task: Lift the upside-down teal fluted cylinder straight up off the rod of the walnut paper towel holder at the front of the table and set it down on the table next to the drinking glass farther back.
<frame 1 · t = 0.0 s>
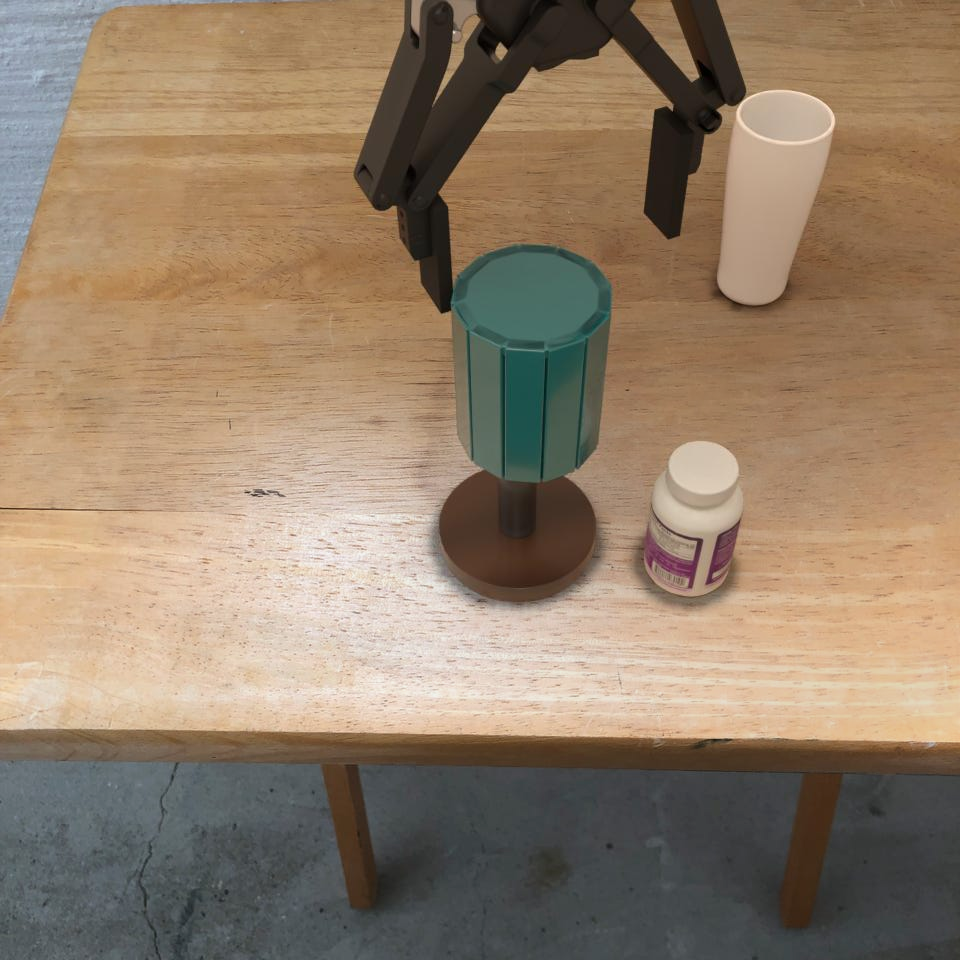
hand: (552, 260, 60), 19 cm above the table, tool pointing down, fingers open, 13 cm apart
pill bottle: (684, 566, 70), on the table
drinking glass: (749, 288, 86), on the table
towel holder: (517, 537, 71), on the table
teal fluted cylinder: (528, 428, 63), point 11 cm above the table, touching gripper, towel holder
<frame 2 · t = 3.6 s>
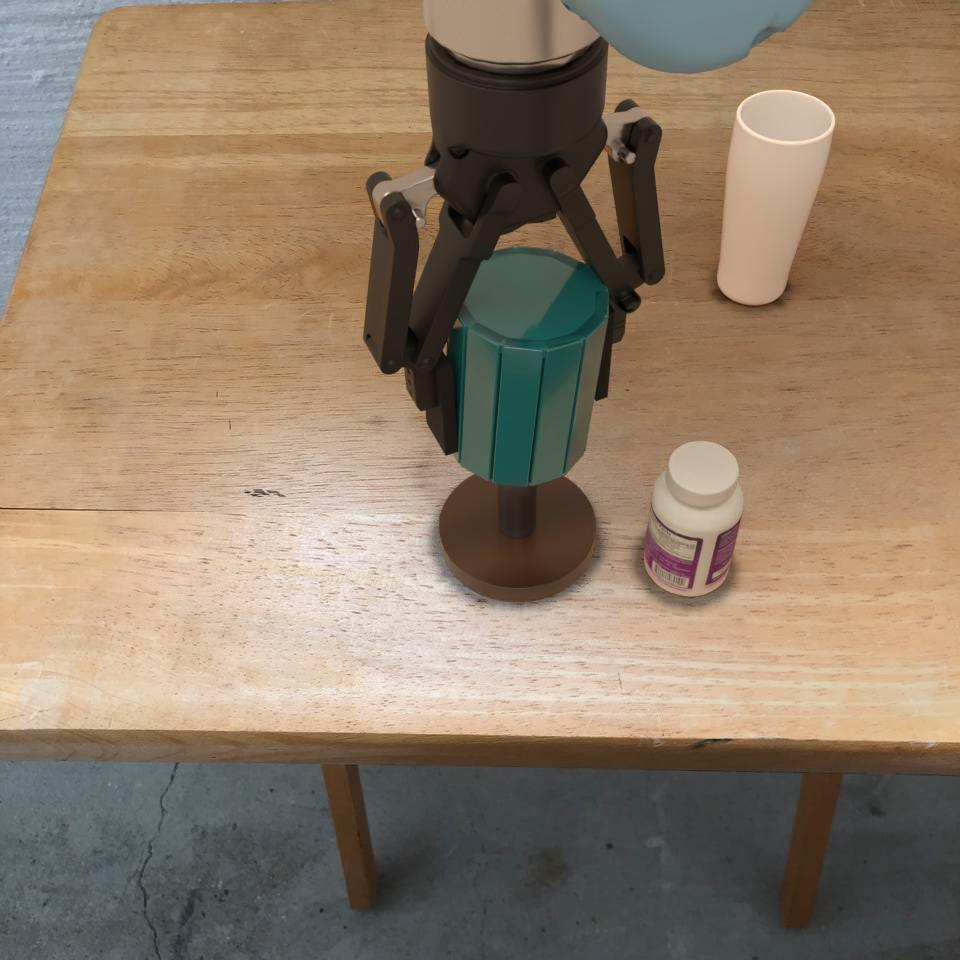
hand: (517, 409, 62), 12 cm above the table, tool pointing down, fingers closed on teal fluted cylinder, 9 cm apart
teal fluted cylinder: (515, 432, 63), point 11 cm above the table, touching gripper, towel holder
everything else where it was.
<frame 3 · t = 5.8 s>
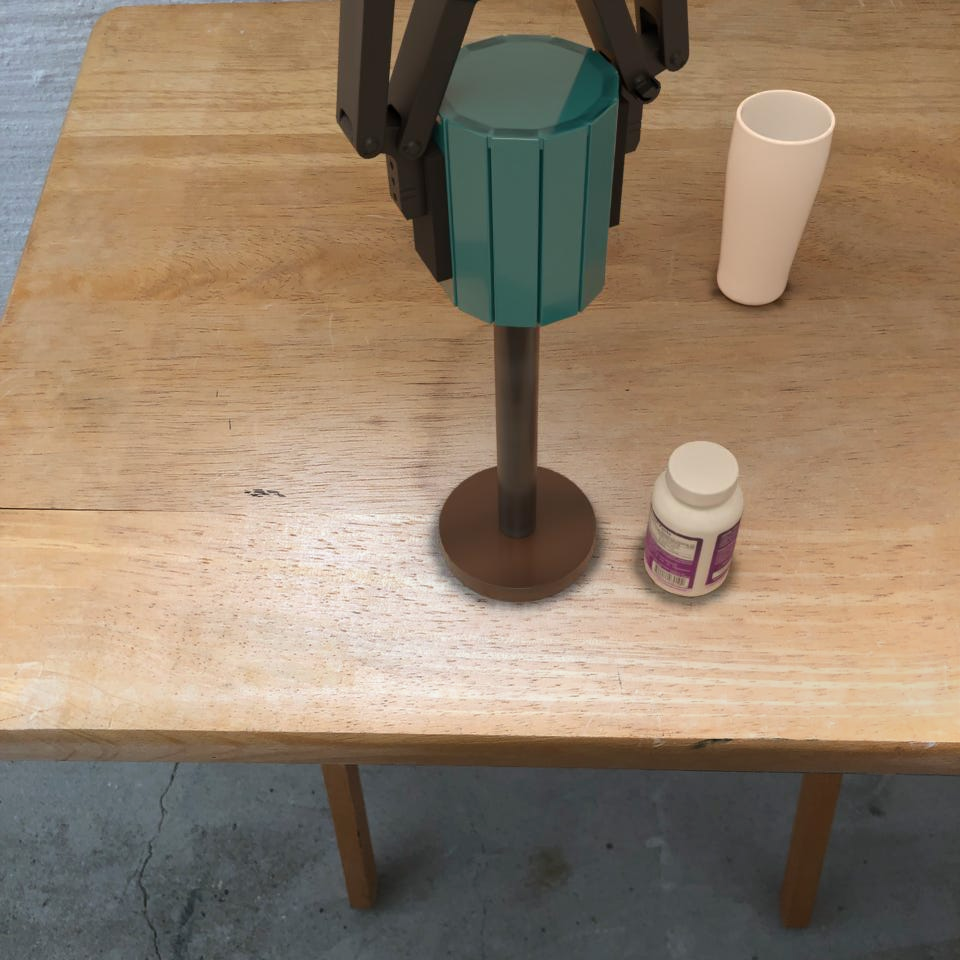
hand: (517, 236, 52), 24 cm above the table, tool pointing down, fingers closed on teal fluted cylinder, 8 cm apart
teal fluted cylinder: (522, 271, 53), point 22 cm above the table, touching gripper
everything else where it was.
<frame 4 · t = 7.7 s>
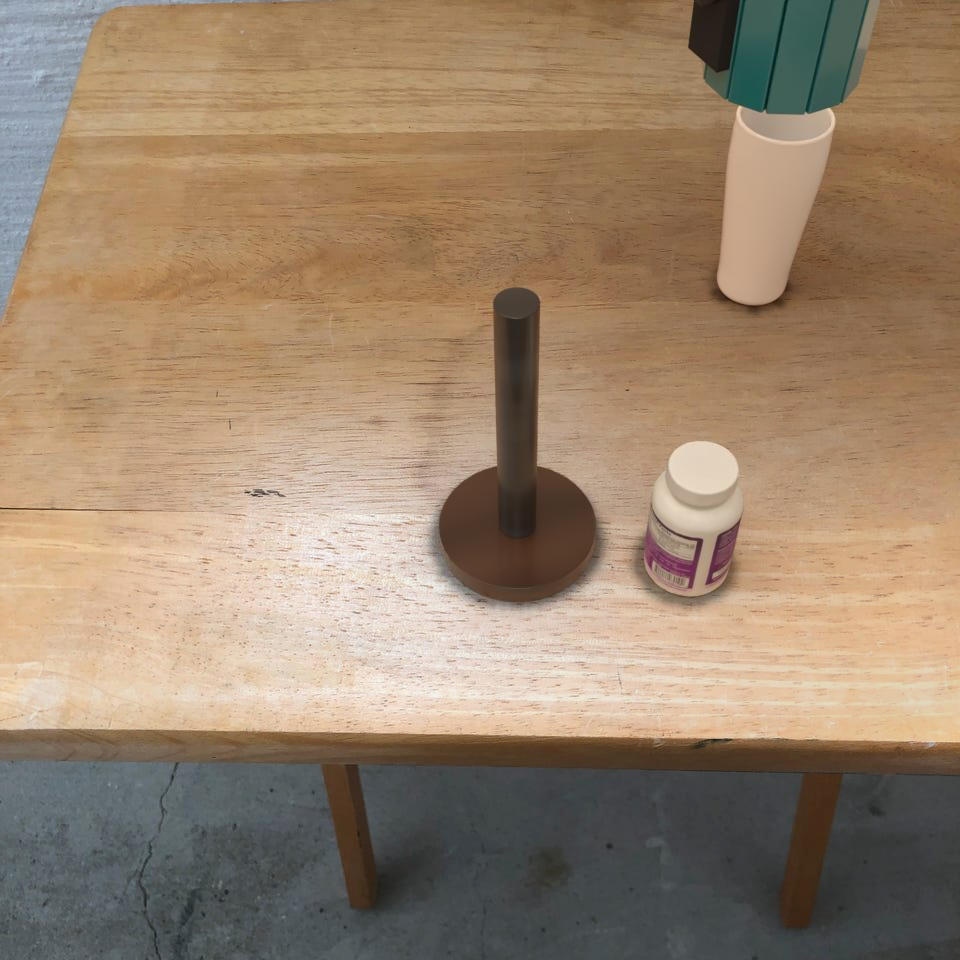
hand: (780, 36, 57), 27 cm above the table, tool pointing down, fingers closed on teal fluted cylinder, 8 cm apart
teal fluted cylinder: (778, 71, 58), point 26 cm above the table, touching gripper
everything else where it was.
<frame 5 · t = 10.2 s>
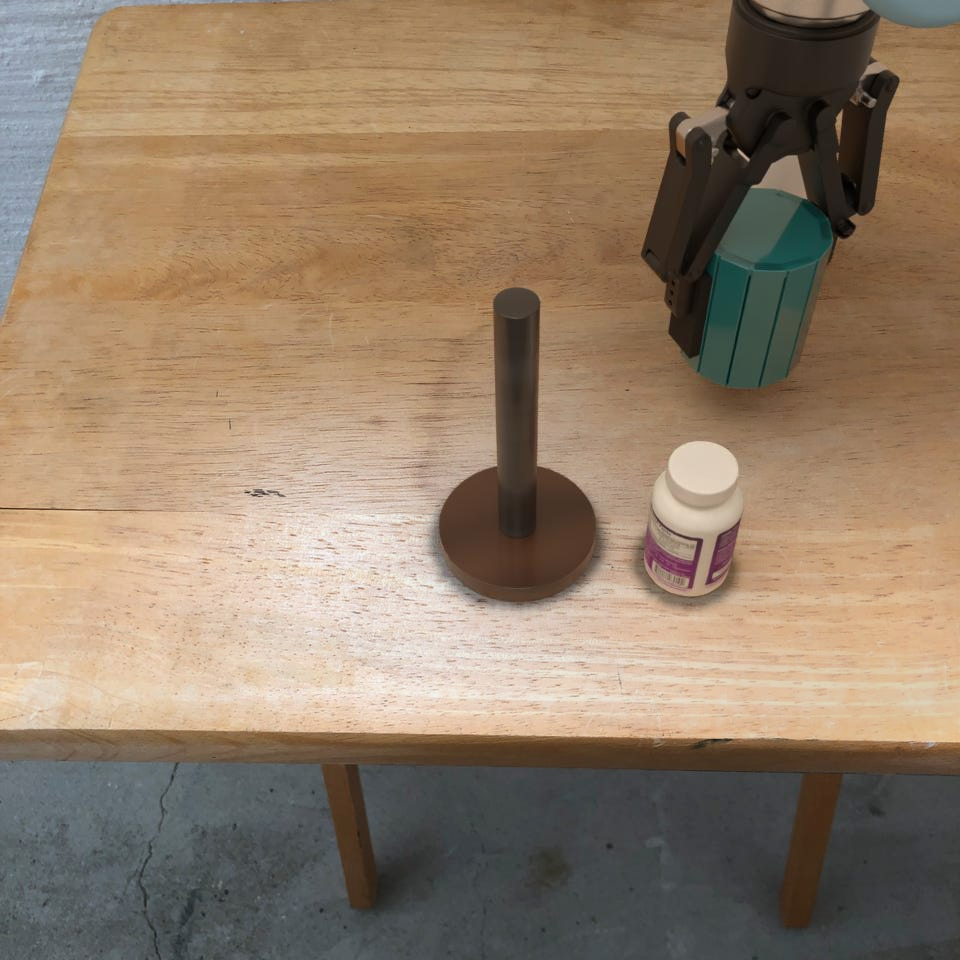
hand: (739, 323, 74), 7 cm above the table, tool pointing down, fingers closed on teal fluted cylinder, 8 cm apart
teal fluted cylinder: (739, 346, 75), point 5 cm above the table, touching gripper
everything else where it was.
when the fingers open (2 cm above the table, at t = 12.0 s): teal fluted cylinder stays where it is, on the table.
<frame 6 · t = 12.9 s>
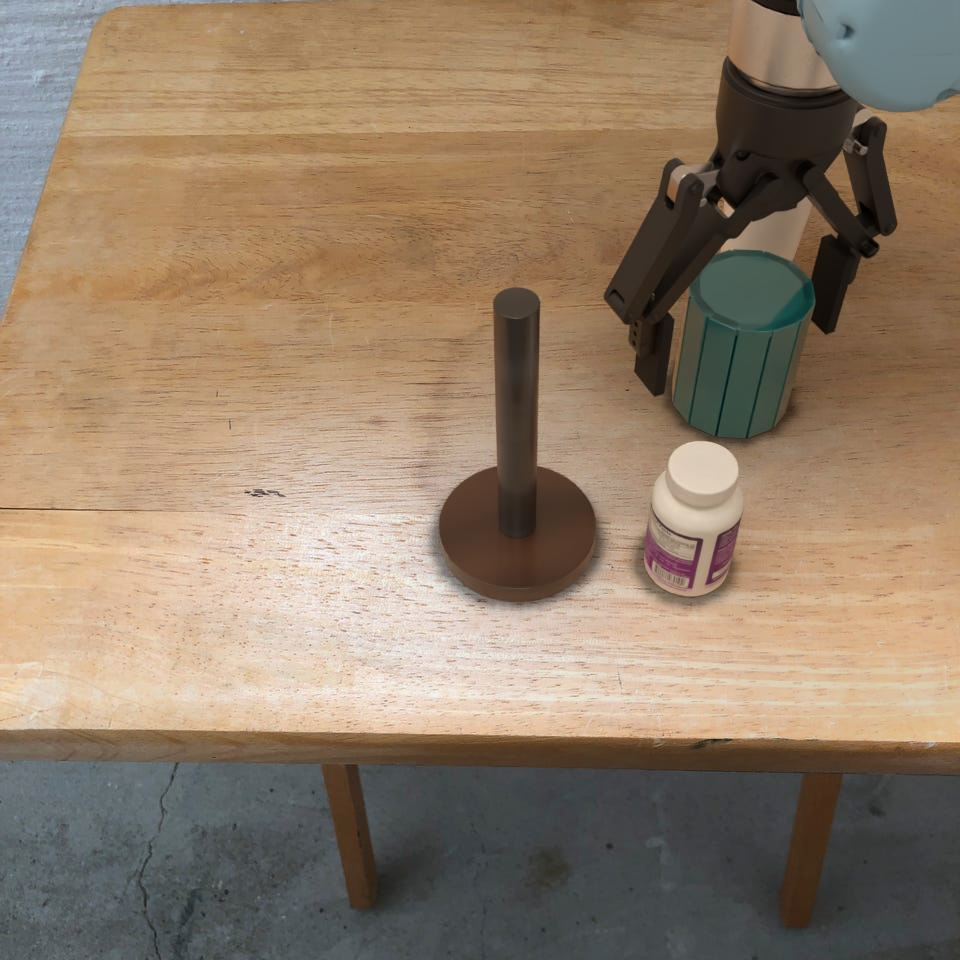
hand: (735, 351, 75), 4 cm above the table, tool pointing down, fingers open, 13 cm apart
teal fluted cylinder: (728, 396, 79), on the table
everything else where it was.
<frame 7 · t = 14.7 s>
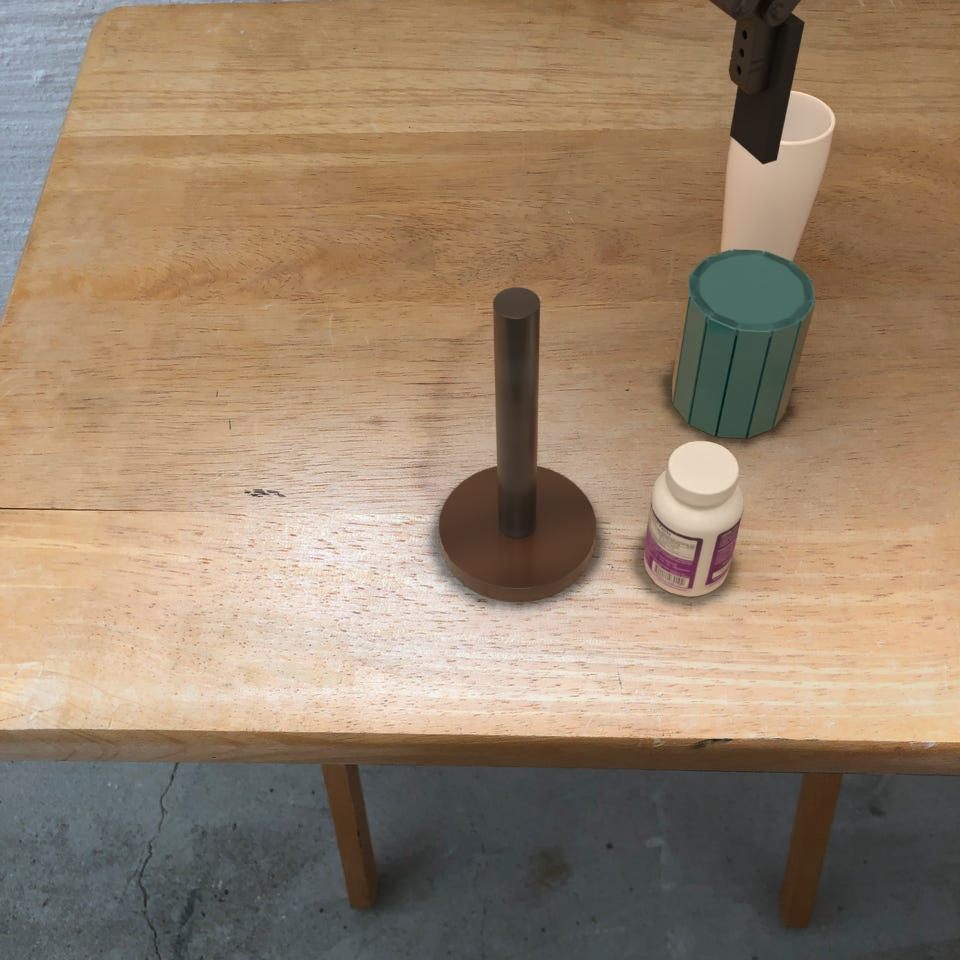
hand: (872, 111, 53), 27 cm above the table, tool pointing down, fingers open, 13 cm apart
nothing on the table moved.
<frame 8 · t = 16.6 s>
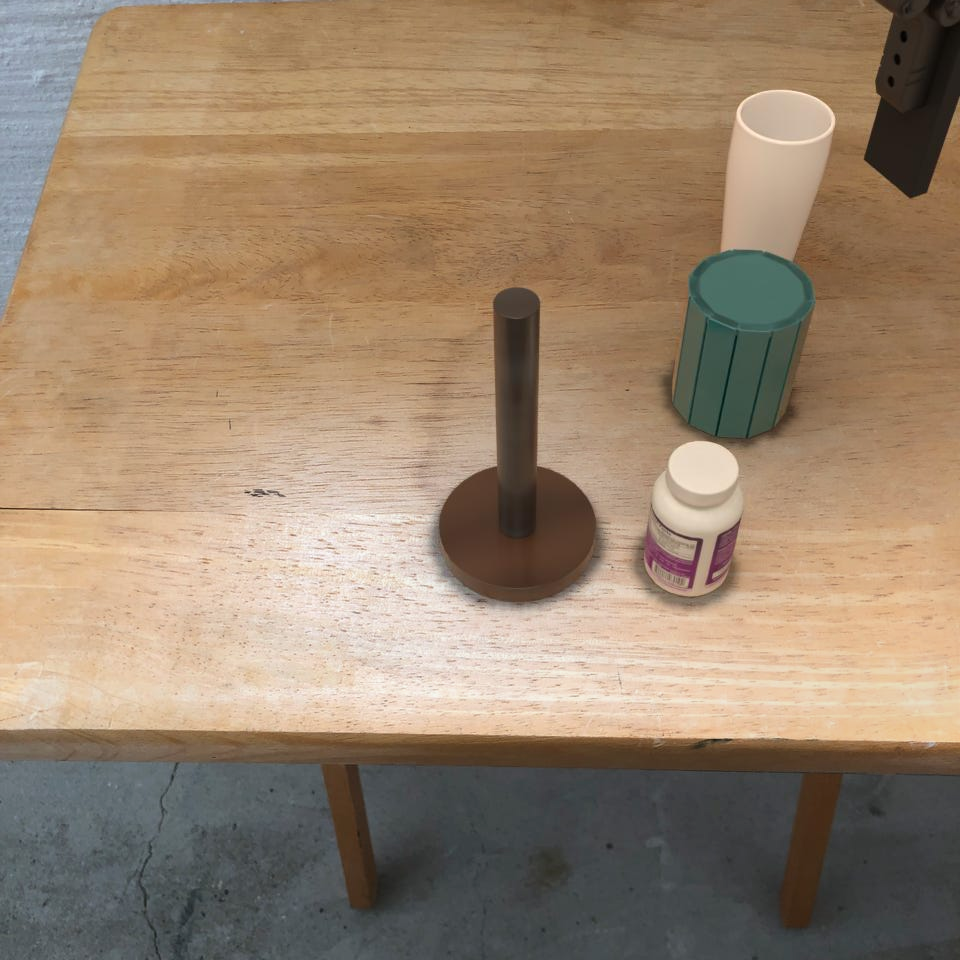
nothing on the table moved.
at the end: teal fluted cylinder 12.3 cm from the drinking glass (horizontally); teal fluted cylinder on the table; teal fluted cylinder tilted 0° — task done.
